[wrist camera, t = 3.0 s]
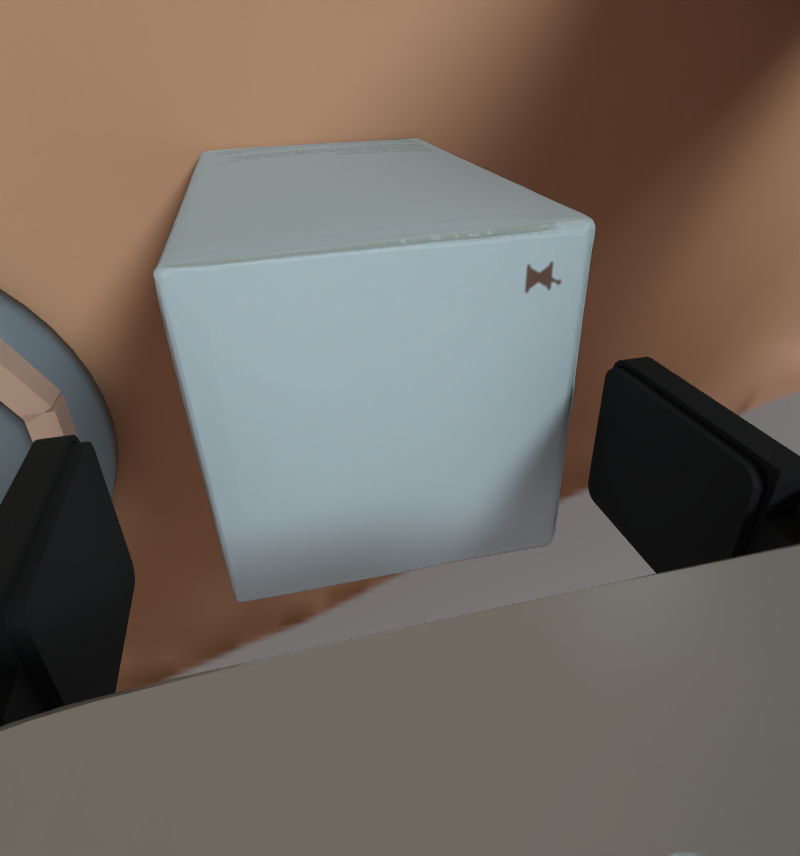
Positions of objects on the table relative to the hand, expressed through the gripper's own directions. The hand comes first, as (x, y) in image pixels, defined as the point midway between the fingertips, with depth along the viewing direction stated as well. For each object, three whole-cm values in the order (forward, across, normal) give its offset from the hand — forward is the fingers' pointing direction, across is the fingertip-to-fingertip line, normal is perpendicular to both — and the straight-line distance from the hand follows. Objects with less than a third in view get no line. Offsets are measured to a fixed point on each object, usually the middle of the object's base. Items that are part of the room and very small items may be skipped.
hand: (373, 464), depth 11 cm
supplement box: (+13, -1, -1) cm, 13 cm away
